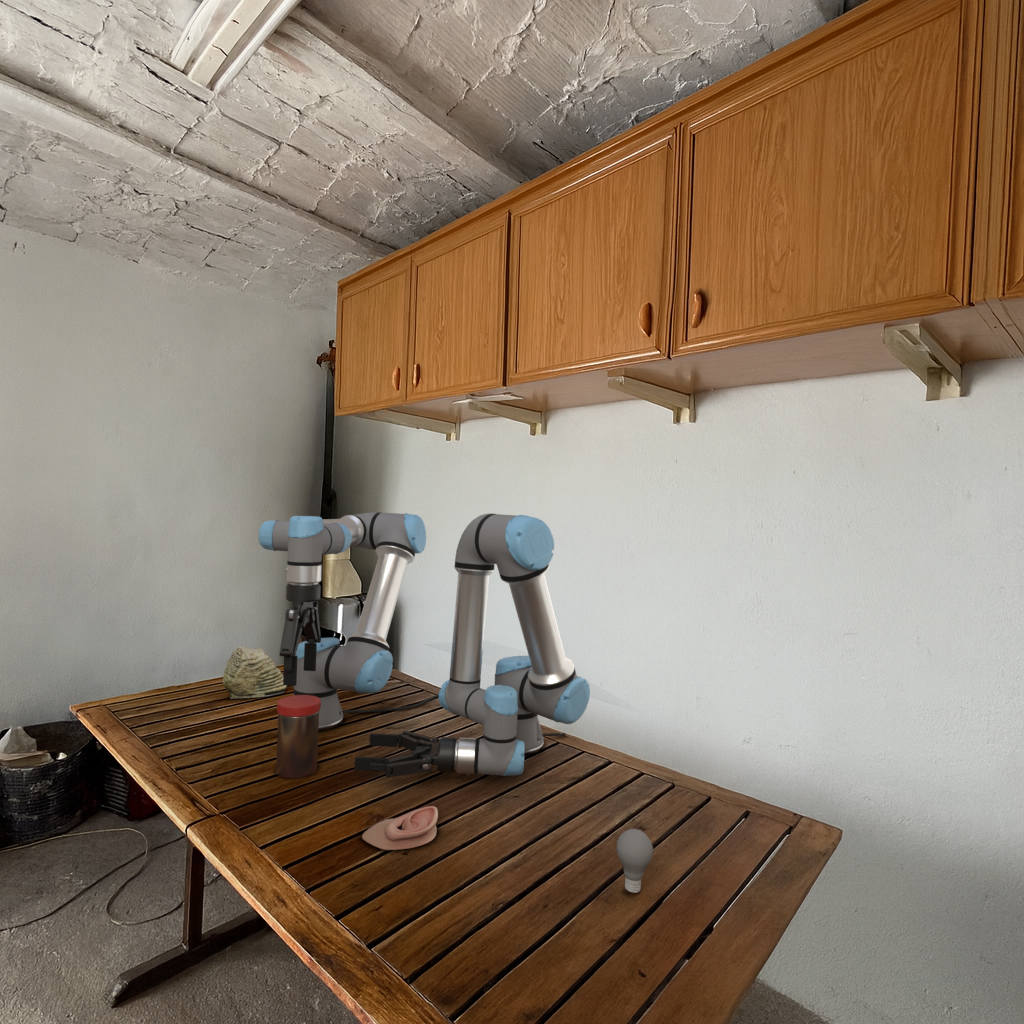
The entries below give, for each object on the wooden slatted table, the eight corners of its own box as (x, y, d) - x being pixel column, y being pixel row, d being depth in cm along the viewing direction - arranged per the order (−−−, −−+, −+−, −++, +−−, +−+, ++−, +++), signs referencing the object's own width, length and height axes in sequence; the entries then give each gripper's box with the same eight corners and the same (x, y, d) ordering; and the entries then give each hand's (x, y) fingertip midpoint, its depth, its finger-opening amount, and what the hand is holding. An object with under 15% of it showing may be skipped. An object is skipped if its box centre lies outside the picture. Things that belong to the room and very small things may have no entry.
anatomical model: (355, 823, 115) (380, 795, 127) (354, 845, 116) (380, 815, 127) (424, 834, 113) (444, 804, 124) (423, 856, 113) (443, 824, 124)
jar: (270, 778, 141) (273, 709, 141) (282, 761, 150) (285, 696, 150) (311, 778, 142) (314, 710, 142) (321, 762, 151) (323, 697, 151)
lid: (270, 716, 141) (271, 707, 141) (283, 702, 150) (284, 694, 150) (314, 717, 141) (314, 708, 141) (324, 703, 151) (325, 695, 151)
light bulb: (610, 879, 108) (613, 822, 108) (644, 879, 109) (647, 822, 109) (619, 902, 102) (622, 840, 102) (655, 901, 103) (658, 840, 103)
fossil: (218, 695, 195) (220, 647, 195) (278, 685, 208) (279, 640, 207) (228, 703, 189) (230, 653, 188) (289, 692, 201) (290, 645, 201)
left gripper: (306, 576, 157) (303, 663, 158) (265, 589, 134) (261, 692, 134) (336, 577, 157) (333, 665, 158) (300, 591, 133) (296, 694, 134)
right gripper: (449, 797, 131) (347, 792, 131) (460, 749, 156) (374, 745, 156) (451, 761, 131) (348, 756, 131) (461, 719, 156) (375, 715, 156)
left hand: (300, 677), depth 146 cm, fingers open, 11 cm apart
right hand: (362, 750), depth 144 cm, fingers open, 13 cm apart
